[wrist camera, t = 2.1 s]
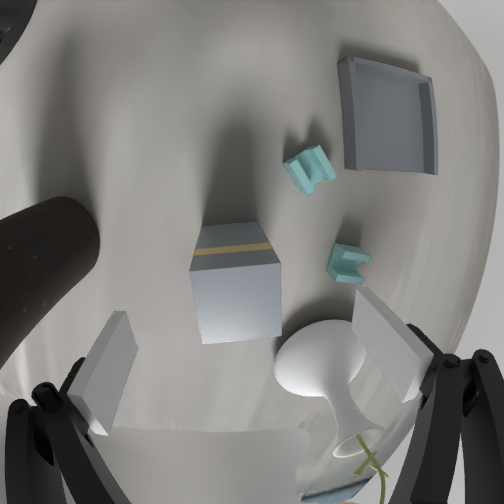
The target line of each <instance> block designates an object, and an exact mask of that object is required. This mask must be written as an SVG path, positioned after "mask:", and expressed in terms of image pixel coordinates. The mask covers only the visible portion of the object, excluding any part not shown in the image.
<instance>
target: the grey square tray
mask: <svg viewBox="0 0 504 504" xmlns="http://www.w3.org/2000/svg"><path fill="white" fill-rule="evenodd" d="M337 66H338V74H339V83H340V93H341V104H342V118H343V135H344V161H345V169H351V170H362V169H367V170H390V171H407V172H420V173H427V174H433V175H438V137H437V120H436V109H435V99H434V91H433V84H432V78H431V77H428V76H425V75H422V74H419V73H416V72H413V71H410V70H406V69H403V68H400V67H396V66H392V65H388V64H385V63H381V62H376V61H372V60H367V59H363V58H358V57H352V56H346V57H345V58H344V59H342V60H341V61H339V62H338V63H337Z"/></svg>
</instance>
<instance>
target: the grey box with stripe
mask: <svg viewBox="0 0 504 504" xmlns="http://www.w3.org/2000/svg"><path fill="white" fill-rule="evenodd" d="M189 273H190V279H191V285H192V291H193V297H194V303H195V308H196V313H197V319H198V324H199V329H200V334H201V339H202V344H208V343H221V342H232V341H242V340H252V339H260V338H269V337H277V336H282V303H281V262H280V260H279V259H278V257H277V255H276V253H275V251H274V249H273V247H272V245H271V243H270V242H269V240H268V239H267V237H266V235H265V233H264V232H263V230H262V228H261V226H260V224H259V223H258V221H253V222H241V223H230V224H219V225H208V226H202V227H201V230H200V234H199V237H198V241H197V244H196V248H195V250H194V254H193V259H192V263H191V267H190V271H189Z"/></svg>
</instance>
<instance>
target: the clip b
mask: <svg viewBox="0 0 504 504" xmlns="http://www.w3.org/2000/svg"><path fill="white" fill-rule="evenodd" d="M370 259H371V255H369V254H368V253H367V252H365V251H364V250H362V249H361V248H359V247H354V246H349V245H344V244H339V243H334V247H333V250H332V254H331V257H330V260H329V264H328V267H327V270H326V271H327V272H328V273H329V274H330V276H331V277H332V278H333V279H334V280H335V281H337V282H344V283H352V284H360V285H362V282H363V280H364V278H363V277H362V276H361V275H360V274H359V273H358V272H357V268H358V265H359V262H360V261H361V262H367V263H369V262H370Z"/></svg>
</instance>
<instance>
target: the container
mask: <svg viewBox="0 0 504 504" xmlns="http://www.w3.org/2000/svg"><path fill="white" fill-rule="evenodd" d="M98 255H99V236H98V231H97V228H96V225H95V223H94V221H93V219H92V217H91V216H90V214H89V213H88V212H87V210H86V209H85V208H84V207H83V206H82V205H81V204H80V203H78V202H77V201H75V200H73V199H71V198H67V197H56V198H52V199H49V200H46V201H43V202H41V203H38V204H36V205H33V206H31V207H28V208H26V209H24V210H21V211H19V212H17V213H14V214H12V215H10V216H8V217H6V218H3V219H1V220H0V369H1V368H2V367H3V365H4V364H5V362H6V361H7V360H8V358H9V357H10V356H11V354H12V353H13V352H14V351H15V349H16V348H17V347H18V346H19V344H20V343H21V342H22V341H23V339H24V338H25V337H26V336H27V335H28V334H29V333H30V332H31V330H32V329H33V328H34V327H35V326H36V325H37V324H38V323H39V321H40V320H41V319H42V318H43V317H44V316H45V315H46V314H47V313H48V312H49V311H50V310H51V309H52V308H53V307H54V305H55V304H56V303H57V302H58V301H59V300H60V299H61V298H62V297H63V296H64V295H65V294H66V293H68V292H69V291H70V290H71V289H72V288H73V287H74V286H75V285H76V284H77V283H78V282H79V281H80V280H82V279H83V278H84V277H85V276H86V275H87V274H88V273H89V272H90V270H91V269H92V268H93V267H94V266H95V264H96V261H97V259H98Z"/></svg>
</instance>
